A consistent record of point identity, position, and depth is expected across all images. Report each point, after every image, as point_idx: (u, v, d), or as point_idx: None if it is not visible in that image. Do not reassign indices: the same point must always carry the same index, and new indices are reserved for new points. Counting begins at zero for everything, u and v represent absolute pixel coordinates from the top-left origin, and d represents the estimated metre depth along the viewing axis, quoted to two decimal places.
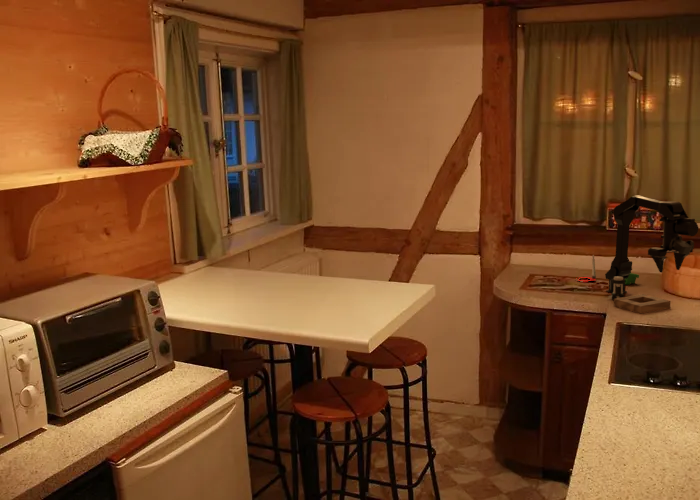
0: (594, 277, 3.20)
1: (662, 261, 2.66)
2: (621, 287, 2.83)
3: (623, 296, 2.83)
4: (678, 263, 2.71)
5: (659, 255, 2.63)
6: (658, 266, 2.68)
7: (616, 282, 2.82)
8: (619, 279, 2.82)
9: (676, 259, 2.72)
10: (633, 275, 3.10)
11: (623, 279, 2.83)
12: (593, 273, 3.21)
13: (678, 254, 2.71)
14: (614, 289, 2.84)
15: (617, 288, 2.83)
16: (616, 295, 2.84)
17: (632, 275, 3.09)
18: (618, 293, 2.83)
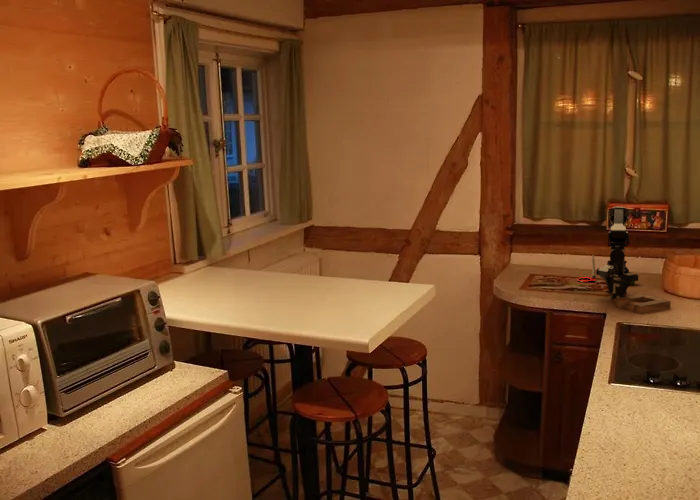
0: (594, 277, 3.20)
1: (606, 281, 2.87)
2: None
3: (623, 296, 2.83)
4: None
5: (596, 273, 2.90)
6: None
7: (616, 282, 2.82)
8: (619, 279, 2.82)
9: None
10: None
11: None
12: (593, 273, 3.21)
13: None
14: (614, 289, 2.84)
15: (617, 288, 2.83)
16: (616, 295, 2.84)
17: None
18: (618, 293, 2.83)
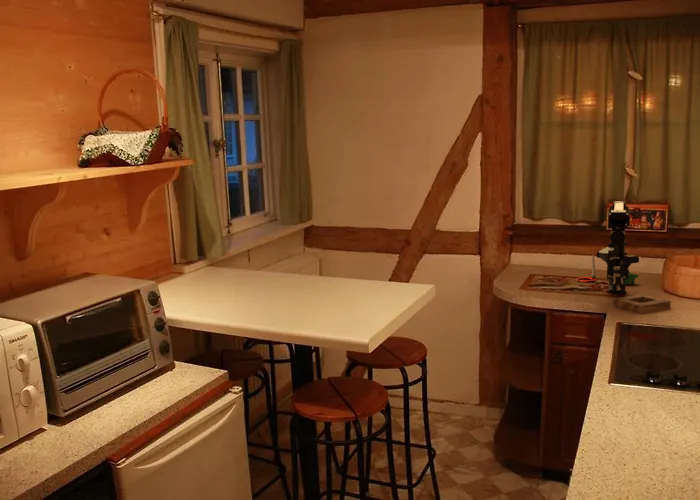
0: (594, 277, 3.20)
1: (607, 264, 2.85)
2: None
3: (623, 286, 2.82)
4: None
5: None
6: None
7: (616, 272, 2.81)
8: (619, 269, 2.81)
9: None
10: (632, 275, 3.10)
11: None
12: (593, 273, 3.21)
13: None
14: (614, 279, 2.84)
15: (617, 278, 2.83)
16: (616, 285, 2.83)
17: (631, 275, 3.09)
18: (618, 283, 2.82)
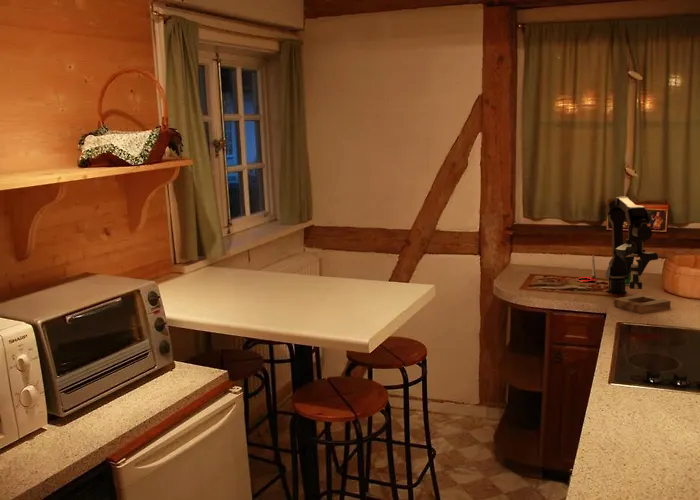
0: (594, 277, 3.20)
1: (625, 262, 2.76)
2: None
3: (641, 284, 2.73)
4: None
5: (613, 253, 2.80)
6: None
7: (634, 269, 2.72)
8: (637, 266, 2.72)
9: None
10: None
11: None
12: (593, 273, 3.21)
13: None
14: (632, 277, 2.74)
15: (635, 276, 2.73)
16: (634, 283, 2.74)
17: None
18: (636, 281, 2.73)
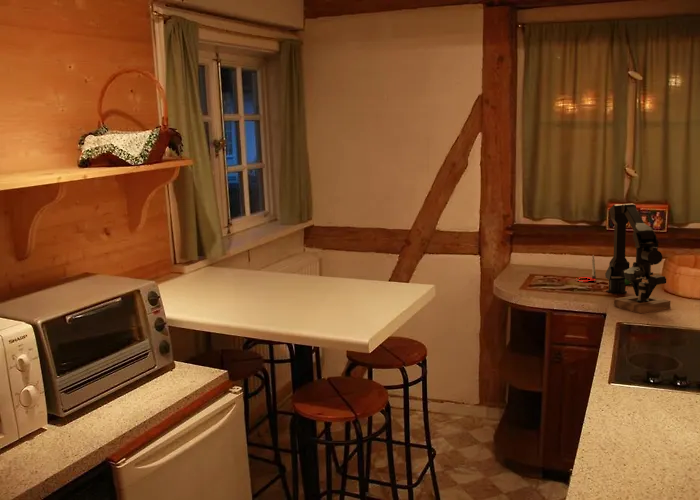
0: (594, 277, 3.20)
1: (633, 284, 2.74)
2: None
3: None
4: None
5: (620, 275, 2.77)
6: None
7: (641, 288, 2.69)
8: None
9: None
10: None
11: None
12: (593, 273, 3.21)
13: None
14: (639, 295, 2.72)
15: (642, 294, 2.71)
16: (641, 302, 2.71)
17: None
18: (643, 300, 2.71)
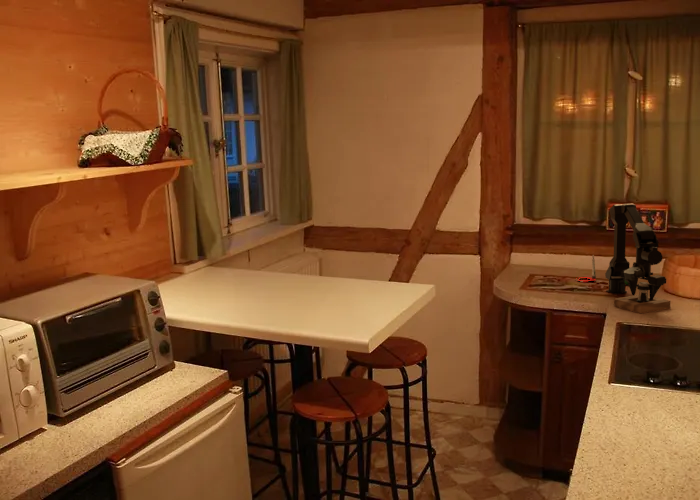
0: (594, 277, 3.20)
1: (629, 283, 2.75)
2: (647, 293, 2.71)
3: None
4: None
5: (620, 275, 2.77)
6: None
7: (641, 288, 2.69)
8: (645, 285, 2.69)
9: None
10: None
11: None
12: (593, 273, 3.21)
13: None
14: (639, 295, 2.72)
15: (642, 294, 2.71)
16: (641, 302, 2.71)
17: None
18: (643, 300, 2.71)
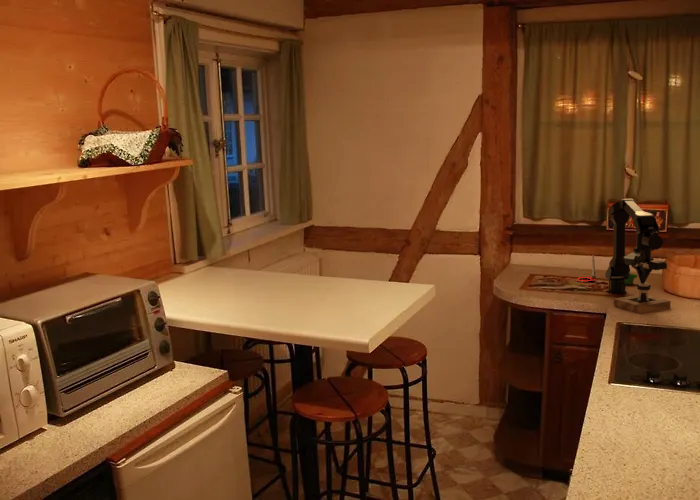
0: (594, 277, 3.20)
1: (638, 271, 2.71)
2: (647, 293, 2.71)
3: None
4: None
5: (621, 261, 2.76)
6: None
7: (642, 288, 2.69)
8: (645, 285, 2.69)
9: None
10: (631, 275, 3.09)
11: (649, 285, 2.71)
12: (593, 273, 3.21)
13: None
14: (639, 295, 2.72)
15: (642, 294, 2.71)
16: (641, 302, 2.71)
17: (630, 275, 3.09)
18: (643, 300, 2.71)
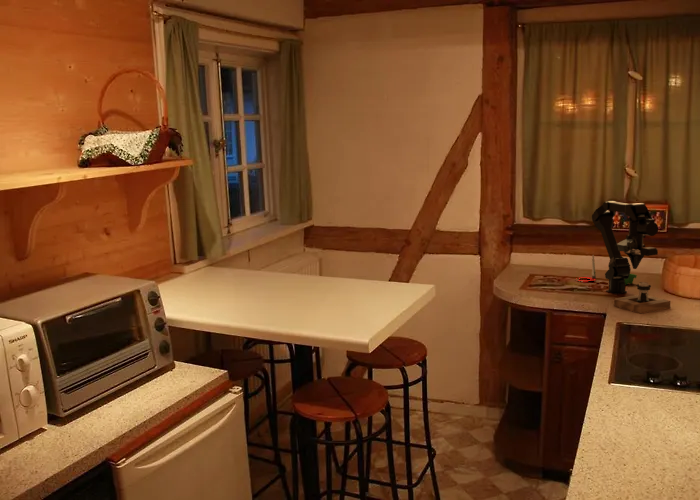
0: (594, 277, 3.20)
1: (630, 257, 2.84)
2: (647, 293, 2.71)
3: None
4: None
5: (614, 248, 2.90)
6: None
7: (642, 288, 2.69)
8: (645, 285, 2.69)
9: None
10: (631, 275, 3.09)
11: (649, 285, 2.71)
12: (593, 273, 3.21)
13: None
14: (639, 295, 2.72)
15: (642, 294, 2.71)
16: (641, 302, 2.71)
17: (630, 275, 3.09)
18: (643, 300, 2.71)
